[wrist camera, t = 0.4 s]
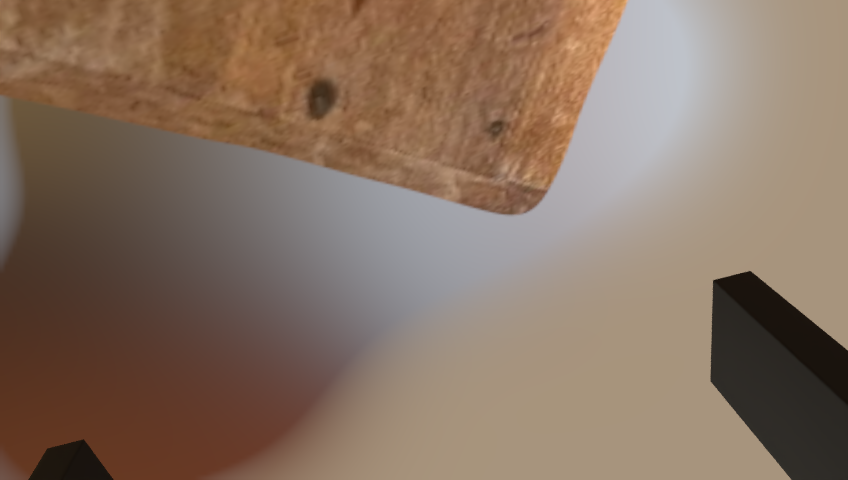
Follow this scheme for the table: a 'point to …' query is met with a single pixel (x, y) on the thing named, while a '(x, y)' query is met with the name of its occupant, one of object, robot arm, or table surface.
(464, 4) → the table surface
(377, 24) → the table surface
